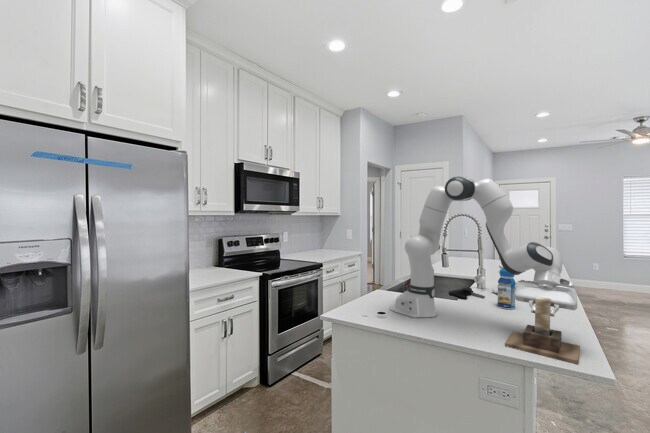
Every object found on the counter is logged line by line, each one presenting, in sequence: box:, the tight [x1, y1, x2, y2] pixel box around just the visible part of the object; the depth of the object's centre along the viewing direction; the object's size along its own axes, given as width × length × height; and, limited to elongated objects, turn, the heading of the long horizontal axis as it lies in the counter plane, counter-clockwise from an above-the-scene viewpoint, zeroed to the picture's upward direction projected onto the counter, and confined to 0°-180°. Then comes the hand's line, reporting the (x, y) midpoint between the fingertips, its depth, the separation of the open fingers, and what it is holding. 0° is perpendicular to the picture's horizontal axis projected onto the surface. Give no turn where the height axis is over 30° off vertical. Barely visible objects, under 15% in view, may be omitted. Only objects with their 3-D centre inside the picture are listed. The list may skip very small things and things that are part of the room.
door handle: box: [448, 287, 486, 301], centre depth 194 cm, size 3×20×16 cm
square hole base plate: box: [504, 324, 581, 365], centre depth 123 cm, size 22×16×6 cm
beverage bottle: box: [496, 268, 516, 311], centre depth 172 cm, size 8×8×20 cm
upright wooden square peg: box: [534, 297, 552, 335], centre depth 122 cm, size 4×4×14 cm
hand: (542, 313), depth 122 cm, fingers closed on upright wooden square peg, 4 cm apart
